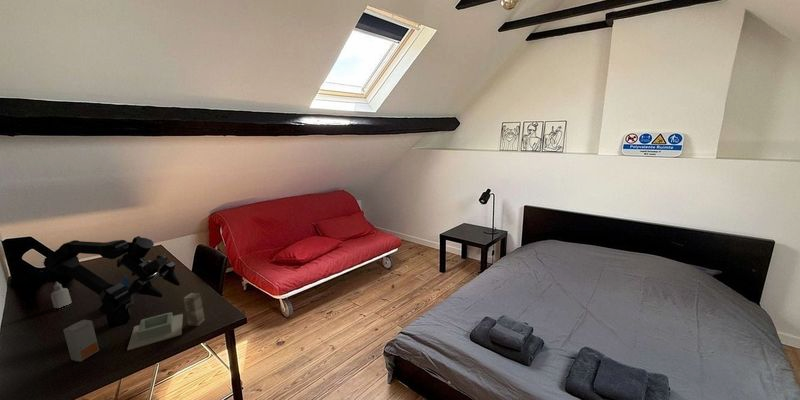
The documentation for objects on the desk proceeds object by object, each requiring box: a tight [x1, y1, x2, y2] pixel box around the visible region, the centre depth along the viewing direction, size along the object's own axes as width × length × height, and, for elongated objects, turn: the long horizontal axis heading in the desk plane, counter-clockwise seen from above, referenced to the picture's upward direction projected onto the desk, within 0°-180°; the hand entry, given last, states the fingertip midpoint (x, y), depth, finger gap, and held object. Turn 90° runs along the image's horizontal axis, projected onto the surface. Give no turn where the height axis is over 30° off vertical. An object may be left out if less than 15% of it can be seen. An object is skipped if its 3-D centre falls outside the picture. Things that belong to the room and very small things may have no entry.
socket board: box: [127, 311, 184, 351], centre depth 125 cm, size 16×16×4 cm
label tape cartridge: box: [119, 273, 135, 307], centre depth 146 cm, size 9×4×12 cm, turn 50°
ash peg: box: [183, 292, 206, 327], centre depth 129 cm, size 4×4×12 cm
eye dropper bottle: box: [50, 281, 73, 309], centre depth 144 cm, size 4×6×12 cm
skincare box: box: [63, 319, 100, 362], centre depth 111 cm, size 6×4×12 cm
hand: (170, 290), depth 128 cm, fingers open, 9 cm apart
